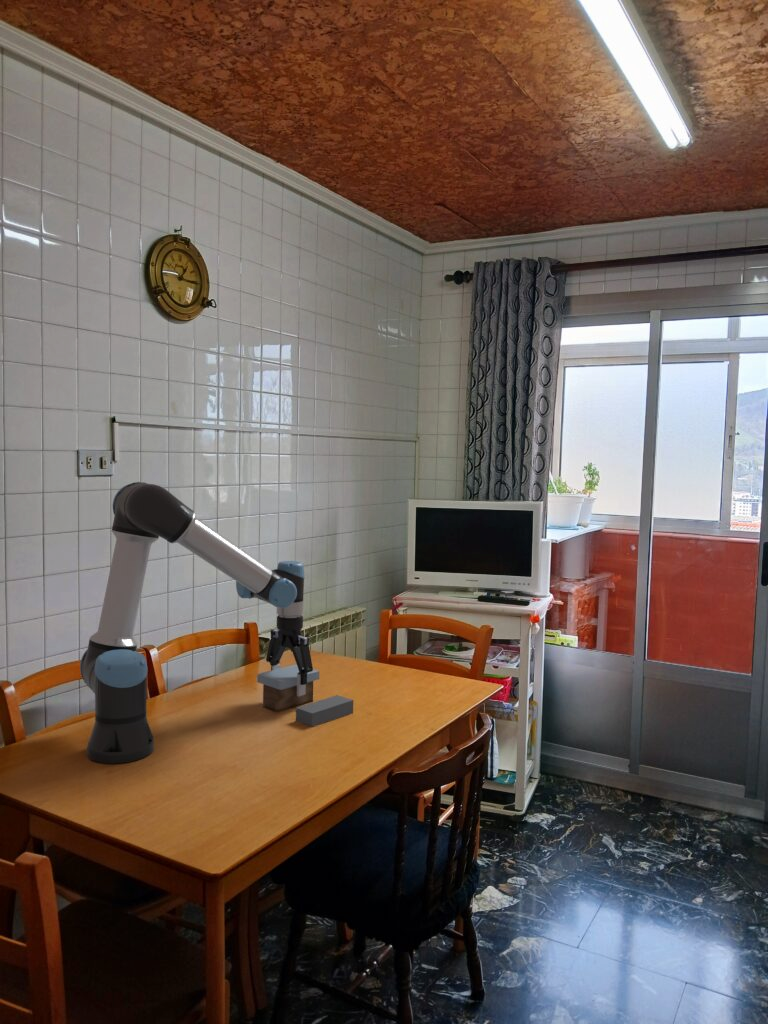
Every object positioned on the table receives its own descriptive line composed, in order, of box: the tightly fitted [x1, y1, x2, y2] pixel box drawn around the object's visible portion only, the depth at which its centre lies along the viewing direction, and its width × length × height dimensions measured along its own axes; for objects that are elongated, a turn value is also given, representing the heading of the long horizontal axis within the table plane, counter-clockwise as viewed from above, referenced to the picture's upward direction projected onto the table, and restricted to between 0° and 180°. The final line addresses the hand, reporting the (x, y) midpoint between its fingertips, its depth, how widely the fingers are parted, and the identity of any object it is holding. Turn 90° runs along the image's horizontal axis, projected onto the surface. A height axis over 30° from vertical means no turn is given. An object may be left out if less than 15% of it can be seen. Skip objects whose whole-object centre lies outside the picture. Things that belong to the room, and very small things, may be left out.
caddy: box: [262, 681, 314, 713], centre depth 220 cm, size 14×6×7 cm, turn 139°
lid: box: [256, 664, 320, 690], centre depth 220 cm, size 15×10×2 cm, turn 139°
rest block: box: [295, 694, 354, 728], centre depth 210 cm, size 16×6×4 cm, turn 139°
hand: (288, 691), depth 220 cm, fingers closed on lid, 10 cm apart
